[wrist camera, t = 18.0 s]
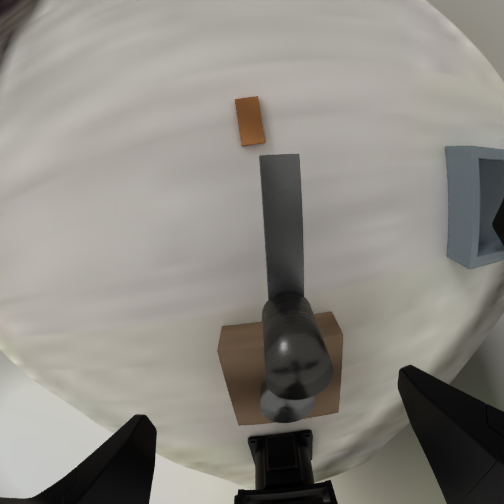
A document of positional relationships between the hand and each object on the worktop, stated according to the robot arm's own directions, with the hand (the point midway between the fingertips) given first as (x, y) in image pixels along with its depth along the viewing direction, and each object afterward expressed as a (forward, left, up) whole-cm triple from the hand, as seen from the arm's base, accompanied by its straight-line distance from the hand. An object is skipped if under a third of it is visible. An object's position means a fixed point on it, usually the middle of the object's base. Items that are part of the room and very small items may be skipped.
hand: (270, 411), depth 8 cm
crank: (-1, -1, -8) cm, 8 cm away
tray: (+4, -21, -11) cm, 24 cm away
